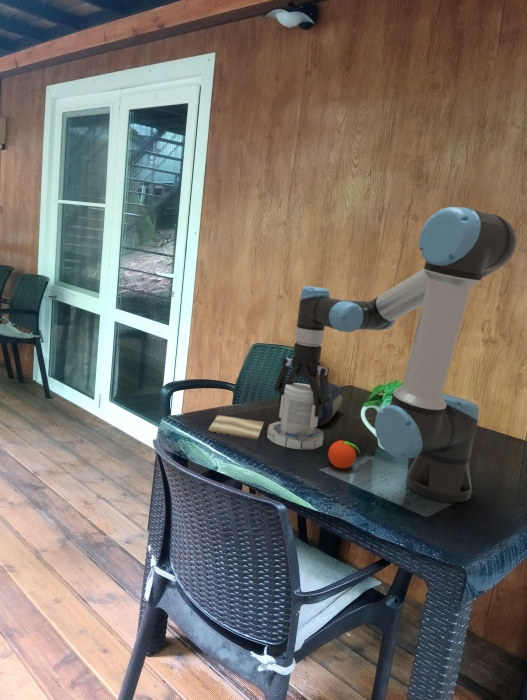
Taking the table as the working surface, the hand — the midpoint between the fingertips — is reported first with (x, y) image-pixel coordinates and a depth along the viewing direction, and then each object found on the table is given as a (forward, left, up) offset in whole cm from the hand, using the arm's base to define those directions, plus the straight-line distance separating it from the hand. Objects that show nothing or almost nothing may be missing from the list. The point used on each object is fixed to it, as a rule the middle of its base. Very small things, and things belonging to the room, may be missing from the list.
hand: (297, 421), depth 160 cm
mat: (+2, +17, -5) cm, 18 cm away
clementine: (-16, -13, -5) cm, 21 cm away
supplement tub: (0, 0, -5) cm, 5 cm away
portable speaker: (+24, -7, -6) cm, 26 cm away
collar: (0, 0, -5) cm, 5 cm away
